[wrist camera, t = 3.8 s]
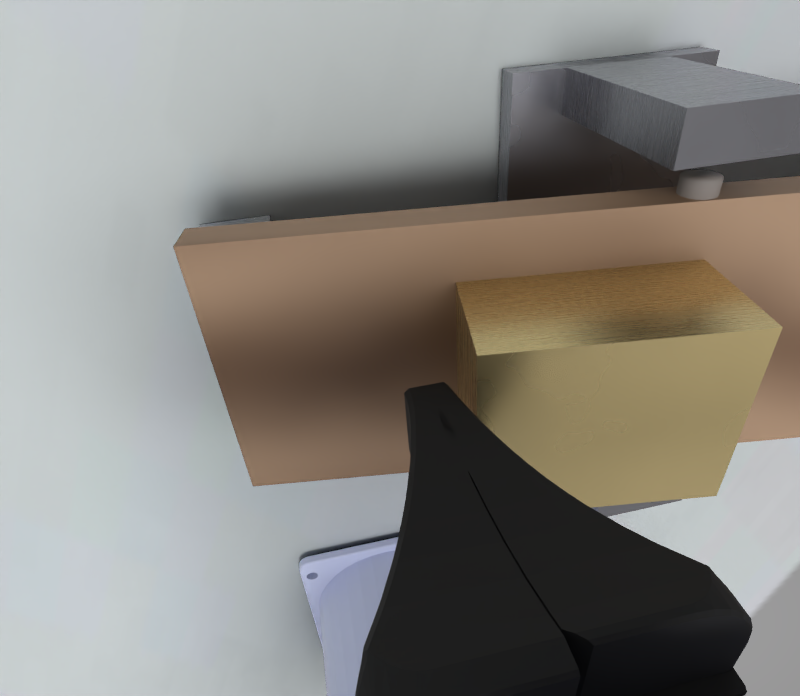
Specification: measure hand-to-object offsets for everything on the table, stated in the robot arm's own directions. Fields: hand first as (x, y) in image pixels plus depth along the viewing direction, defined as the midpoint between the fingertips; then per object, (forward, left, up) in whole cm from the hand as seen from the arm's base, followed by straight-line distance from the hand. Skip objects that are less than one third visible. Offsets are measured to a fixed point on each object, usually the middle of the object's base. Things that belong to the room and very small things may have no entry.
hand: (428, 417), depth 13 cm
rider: (0, -4, -1) cm, 4 cm away
